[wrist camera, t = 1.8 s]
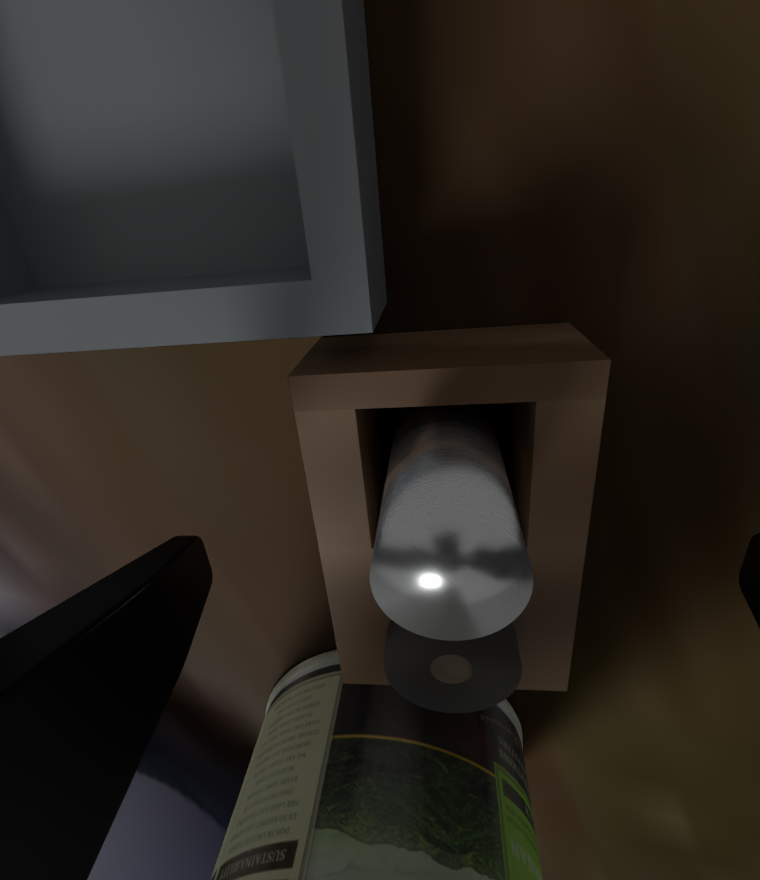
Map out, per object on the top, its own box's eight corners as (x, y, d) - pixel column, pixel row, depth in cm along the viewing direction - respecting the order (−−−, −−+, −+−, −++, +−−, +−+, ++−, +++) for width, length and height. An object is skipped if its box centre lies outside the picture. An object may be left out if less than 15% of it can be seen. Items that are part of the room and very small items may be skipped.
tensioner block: (543, 604, 15) (577, 729, 12) (358, 602, 16) (336, 718, 12) (568, 322, 11) (632, 378, 8) (320, 337, 12) (271, 394, 8)
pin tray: (387, 302, 11) (372, 332, 9) (33, 327, 13) (-75, 360, 10) (337, -338, 7) (279, -659, 4) (-186, -206, 8) (-473, -396, 6)
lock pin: (490, 462, 13) (529, 642, 8) (400, 464, 13) (377, 638, 8) (491, 376, 12) (538, 516, 7) (393, 381, 12) (362, 517, 7)
